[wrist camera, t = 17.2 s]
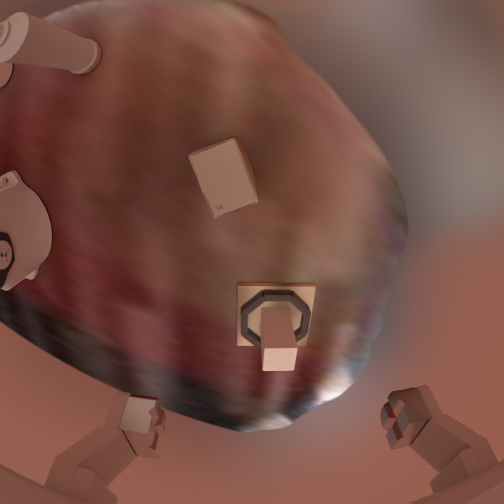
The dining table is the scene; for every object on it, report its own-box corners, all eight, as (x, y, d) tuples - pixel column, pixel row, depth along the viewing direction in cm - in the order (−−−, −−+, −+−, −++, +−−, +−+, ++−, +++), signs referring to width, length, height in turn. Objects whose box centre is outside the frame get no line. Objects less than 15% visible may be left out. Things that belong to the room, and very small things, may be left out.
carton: (260, 328, 45) (262, 370, 37) (261, 306, 43) (264, 348, 35) (286, 328, 45) (293, 370, 37) (288, 307, 43) (297, 348, 35)
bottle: (68, 76, 30) (-75, 66, 7) (76, 42, 28) (-58, 7, 5) (98, 74, 30) (-48, 51, 7) (107, 39, 28) (-26, -14, 5)
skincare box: (257, 181, 37) (261, 206, 26) (224, 192, 38) (214, 223, 26) (239, 133, 34) (235, 136, 23) (205, 145, 35) (186, 155, 24)
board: (237, 341, 47) (237, 351, 45) (237, 282, 43) (237, 291, 40) (305, 341, 47) (307, 351, 45) (314, 283, 43) (317, 292, 41)
